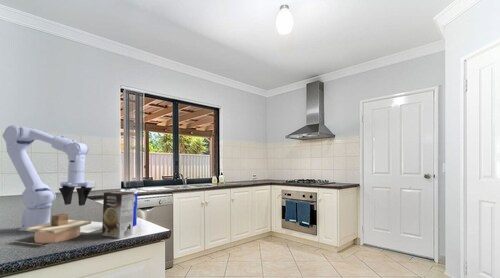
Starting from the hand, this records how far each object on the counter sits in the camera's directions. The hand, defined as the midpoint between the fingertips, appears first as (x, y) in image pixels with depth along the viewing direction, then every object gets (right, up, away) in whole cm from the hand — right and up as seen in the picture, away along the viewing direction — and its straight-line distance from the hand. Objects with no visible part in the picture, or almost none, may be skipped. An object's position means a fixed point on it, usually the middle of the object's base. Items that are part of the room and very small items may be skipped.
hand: (74, 204), depth 108 cm
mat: (+5, -10, +2) cm, 11 cm away
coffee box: (+22, -9, -10) cm, 26 cm away
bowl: (+3, -9, -13) cm, 16 cm away
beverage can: (+21, -10, +3) cm, 24 cm away
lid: (+3, -5, -12) cm, 14 cm away
